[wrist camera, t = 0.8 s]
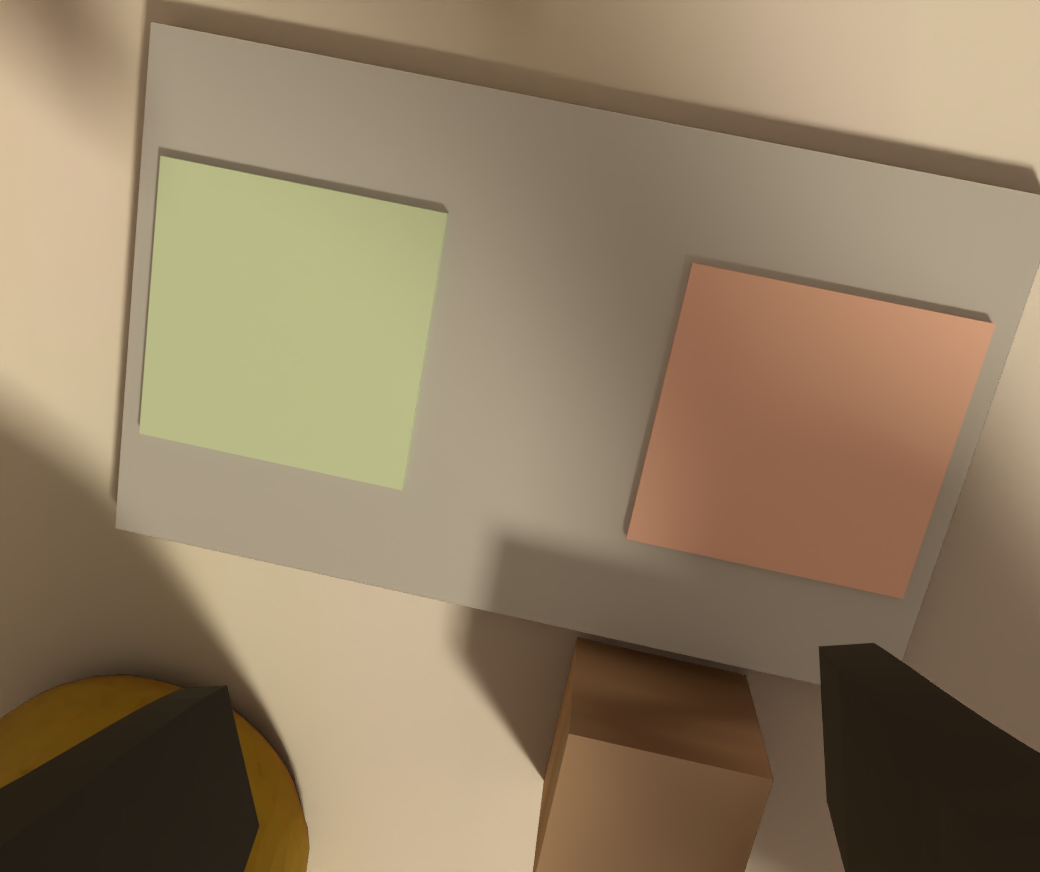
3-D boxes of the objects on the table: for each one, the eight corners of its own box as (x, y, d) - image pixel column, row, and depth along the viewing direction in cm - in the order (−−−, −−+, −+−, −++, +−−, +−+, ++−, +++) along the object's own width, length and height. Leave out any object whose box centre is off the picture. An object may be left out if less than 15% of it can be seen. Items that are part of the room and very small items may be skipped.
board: (1047, 198, 18) (1066, 199, 17) (881, 685, 21) (891, 705, 20) (164, 26, 19) (145, 19, 18) (128, 519, 22) (110, 531, 21)
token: (745, 673, 21) (773, 779, 18) (703, 815, 23) (721, 944, 19) (577, 635, 22) (568, 733, 18) (544, 778, 23) (529, 899, 19)
